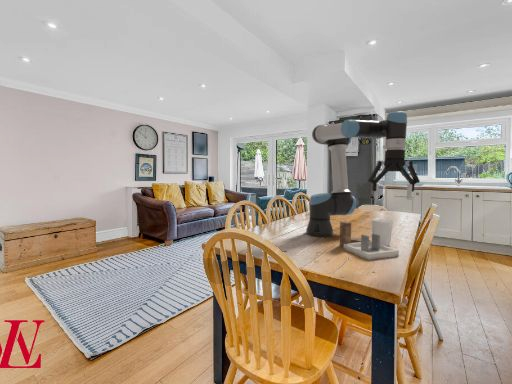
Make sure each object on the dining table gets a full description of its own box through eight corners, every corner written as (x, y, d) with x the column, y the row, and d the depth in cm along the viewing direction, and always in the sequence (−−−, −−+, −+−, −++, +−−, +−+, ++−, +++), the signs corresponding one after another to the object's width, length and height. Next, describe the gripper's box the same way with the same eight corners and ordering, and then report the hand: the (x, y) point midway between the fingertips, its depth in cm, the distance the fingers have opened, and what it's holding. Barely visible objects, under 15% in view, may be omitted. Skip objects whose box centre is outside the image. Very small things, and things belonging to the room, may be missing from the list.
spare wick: (342, 242, 136) (342, 237, 136) (347, 240, 139) (347, 236, 139) (365, 247, 127) (366, 242, 127) (370, 245, 131) (370, 240, 131)
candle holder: (394, 246, 126) (395, 222, 125) (372, 245, 128) (373, 221, 127) (388, 241, 136) (389, 218, 135) (368, 240, 138) (369, 218, 137)
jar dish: (343, 249, 122) (344, 232, 122) (371, 246, 128) (371, 229, 127) (368, 260, 107) (369, 240, 107) (398, 256, 112) (399, 237, 112)
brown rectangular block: (339, 245, 128) (340, 221, 127) (343, 245, 129) (344, 221, 128) (346, 248, 123) (346, 223, 123) (350, 248, 124) (351, 223, 123)
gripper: (367, 149, 109) (365, 199, 111) (431, 148, 106) (427, 200, 108) (362, 150, 117) (360, 197, 119) (421, 150, 114) (418, 198, 116)
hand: (392, 199), depth 113 cm, fingers open, 13 cm apart
